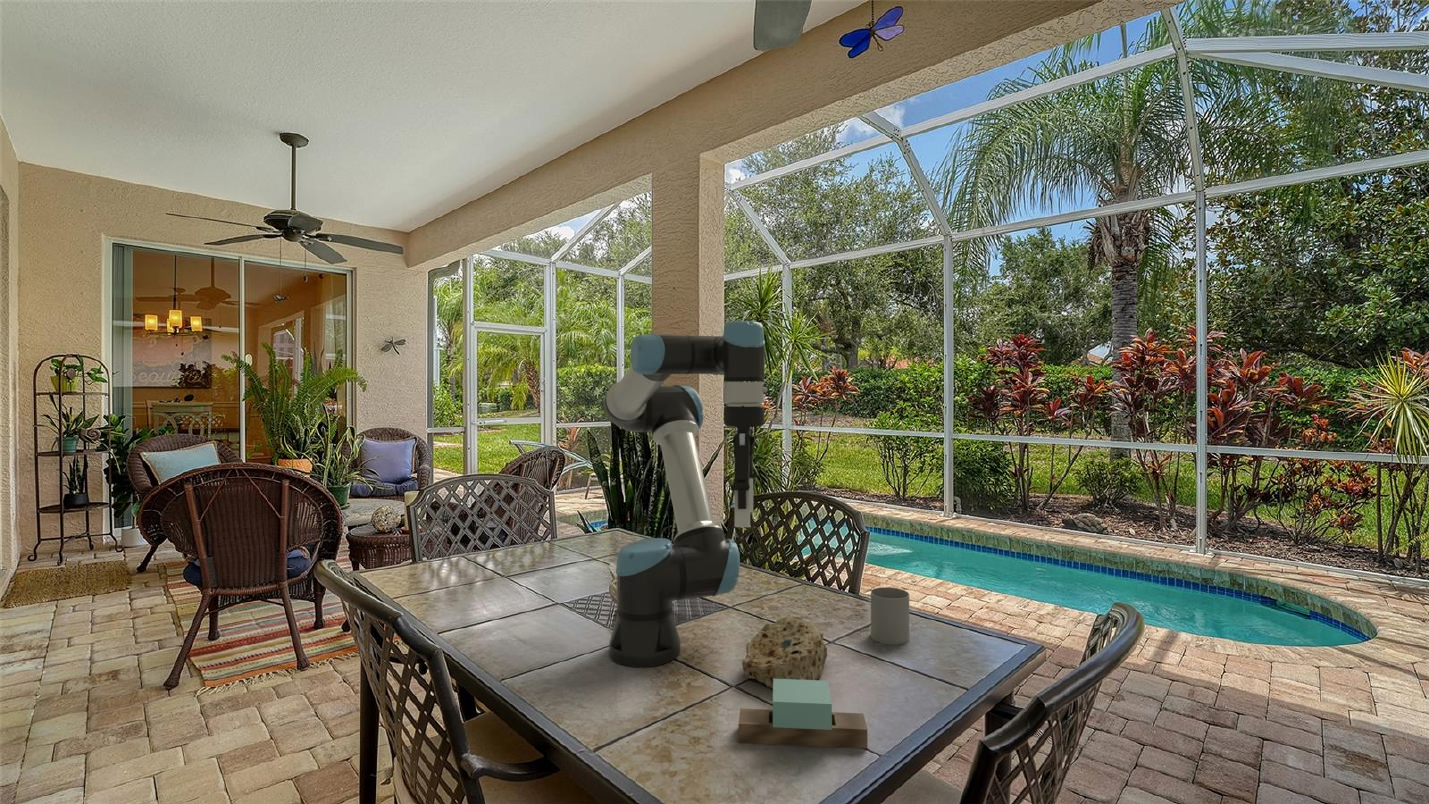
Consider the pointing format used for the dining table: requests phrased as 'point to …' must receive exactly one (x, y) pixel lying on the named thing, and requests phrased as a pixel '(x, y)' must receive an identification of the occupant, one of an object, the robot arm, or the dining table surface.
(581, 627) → the dining table surface
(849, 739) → the rail
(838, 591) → the dining table surface
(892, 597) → the cup
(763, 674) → the rock
